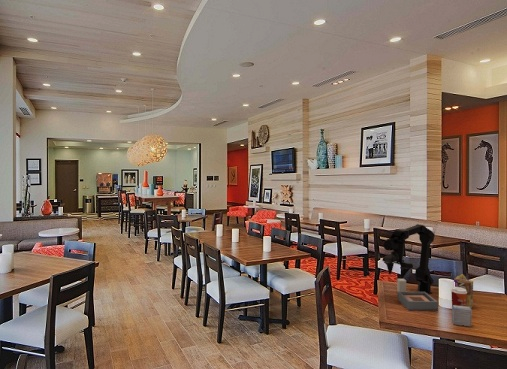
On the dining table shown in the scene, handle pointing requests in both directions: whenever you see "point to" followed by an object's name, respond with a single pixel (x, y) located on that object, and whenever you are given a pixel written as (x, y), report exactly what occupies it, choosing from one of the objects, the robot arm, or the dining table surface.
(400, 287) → the peg
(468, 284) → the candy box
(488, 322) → the dining table surface
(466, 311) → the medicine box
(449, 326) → the dining table surface
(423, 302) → the bin
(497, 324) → the dining table surface
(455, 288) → the paper cup
